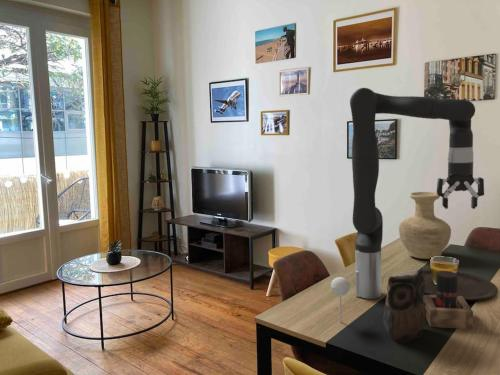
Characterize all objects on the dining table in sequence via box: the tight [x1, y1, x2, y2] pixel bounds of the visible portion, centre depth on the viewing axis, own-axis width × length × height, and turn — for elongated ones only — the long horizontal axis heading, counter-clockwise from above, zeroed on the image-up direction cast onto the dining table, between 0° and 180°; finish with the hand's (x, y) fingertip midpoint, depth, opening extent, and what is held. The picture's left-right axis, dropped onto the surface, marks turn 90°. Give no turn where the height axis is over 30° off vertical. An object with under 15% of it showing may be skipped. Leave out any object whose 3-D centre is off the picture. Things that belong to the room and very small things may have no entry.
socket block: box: [423, 294, 474, 330], centre depth 132 cm, size 12×12×6 cm
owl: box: [382, 267, 427, 343], centre depth 123 cm, size 13×13×20 cm
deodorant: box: [435, 270, 458, 308], centre depth 132 cm, size 6×6×15 cm
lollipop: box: [330, 276, 351, 323], centre depth 133 cm, size 6×6×15 cm
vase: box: [398, 191, 452, 260], centre depth 193 cm, size 22×22×30 cm
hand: (459, 208), depth 141 cm, fingers open, 8 cm apart
